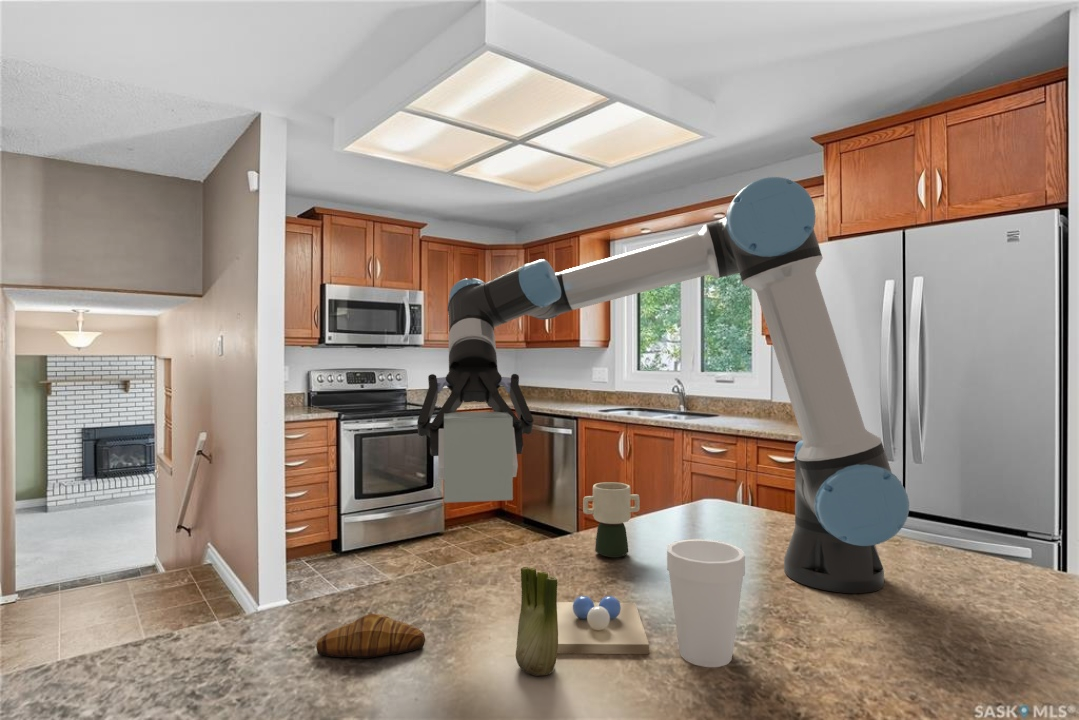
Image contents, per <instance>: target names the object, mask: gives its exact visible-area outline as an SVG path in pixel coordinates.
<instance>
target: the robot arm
mask: <svg viewBox="0 0 1079 720" xmlns="http://www.w3.org/2000/svg"><path fill="white" fill-rule="evenodd" d="M736 194H737V195H735V196H734V197H733V199H732V201H731V202H730V204H729V206H728V208H727V211H726V215H725V217H723V218H721V219H718V220H716V221H713V222H712V221H711V222H709V223H706V224H704V225H703V226H702V228H701V229H700V231H698V232H695V233H693V234H688V235H685V236H681V237H679V238H675V239H671V240H668V241H664V242H661V243H660V242H659V243H657V244H653V245H651V246H650V245H649V246H646V247H643V248H638V249H636V250H632V251H629V252H625V253H622V254H617V255H614V256H612V257H611V256H610V257H607V258H604V259H600V260H595V261H593V262H589V263H586V264H581V265H579V266H575V267H572V268H569V269H565V270H562V271H559V272H555V270H554V268H553V267H552V266H551V264H550V263H549V261H548V260H546V259H544V258H543V259H542V258H541V259H538V260H535V261H532V262H529V263H528V262H527V263H525V264H523V265H521V266H520V267H518V268H516V269H513V270H511V271H509V272H507V273H505V274H502V275H500V276H498V277H496V278H494V279H492V280H489V281H487V282H484V281H483V280H481V279H479V278H463V279H461V280H459V281H456V283H454V285H453V286H452V287H451V289H450V291H449V296H448V303H447V312H448V313H447V316H448V329H449V330H448V373H447V374H446V376H443V377H437V375H436V374H434V373H431V374H429V375H428V376H427V377H428V378H427V379H428V381H427V382H428V389H427V392H426V394H425V398H424V401H423V403H422V407H421V410H420V414H419V415H418V418H417V423H416V424H417V434H418V436H420V437H424V436H427V437H429V455H430V456H432V457H438V463H437V464H438V468H437V470H438V471H437V472H438V480H444V413H451V412H457V410H458V409H459V408H460V407H461V406H462V405H463V403H472V402H473V403H474V402H477V403H486V405H487V406H488V407H489V408H491V409H492V411H499V412H504V413H505V412H507V413H508V414H509V415H511V416H512V417H513V478H517V473H518V468H519V465H518V464H519V463H518V456H517V455H522V453H523V449H524V439H523V435H524V434H527V435H529V434H532V432H533V427H534V418H533V415H532V412H531V410H530V409H529V407H528V404H527V402H526V399H525V397H524V395H523V393H522V390H521V388H520V385H519V383H520V376H519V374H517V373H512V374H511V376H509V377H508V376H502V374H501V373H500V372H499V370H498V361H497V359H498V357H497V356H498V355H497V347H496V344H497V343H496V336H495V328H496V327H499V326H501V325H503V324H504V325H505V324H506V323H509V322H510V321H513V320H516V319H518V318H521V317H523V316H530V317H534V318H535V319H538V320H542V321H543V320H551V319H554V318H556V317H558V316H560V315H562V314H565V313H568V312H572V311H575V310H579V309H582V308H586V307H589V306H594V305H597V304H601V303H602V304H603V303H605V302H609V301H614V300H617V299H621V298H624V297H628V296H633V295H635V294H636V295H637V294H639V293H644V292H647V291H651V290H656V289H658V288H663V287H667V286H670V285H674V284H678V283H682V282H685V281H690V280H693V279H697V278H701V277H705V276H712V277H714V278H715V279H721V278H723V277H728V276H733V275H737V274H738V275H739V277H740V279H741V280H740V281H741V282H742V285H743V286H745V287H747V288H750V289H752V290H754V291H755V292H756V295H757V296H756V297H757V298H758V299H757V300H758V302H759V305H760V308H761V312H762V314H763V318H764V321H765V324H766V327H767V331H768V334H769V337H770V340H771V343H772V347H773V349H774V350H773V351H774V353H775V356H776V359H777V363H778V366H779V369H780V373H781V375H782V378H783V382H784V384H785V388H786V391H787V394H788V395H787V396H788V398H789V401H790V404H791V407H792V411H793V414H794V417H795V420H796V421H795V422H796V423H797V426H798V430H799V433H800V437H801V440H799V441H798V442H797V443H796V444H795V447H794V448H795V449H794V455H793V460H794V474H795V475H794V479H795V480H794V515H795V516H794V520H795V521H794V529H793V532H792V535H791V538H790V541H789V544H788V546H787V549H786V552H785V554H784V558H783V561H784V562H783V571H784V573H785V575H786V576H787V577H788V578H790V579H792V580H793V581H794V582H797V583H799V584H802V585H804V586H808V587H811V588H814V589H819V590H822V591H829V592H833V593H843V594H865V593H873V592H877V591H879V590H881V589H882V588H883V587H884V585H885V570H884V567H883V564H882V561H881V558H880V554H879V552H878V549H877V547H876V546H877V545H880V544H882V543H885V542H888V541H889V540H891V539H893V537H895V536H896V535H898V533H899V532H900V531H901V530H902V528H903V527H904V526H905V524H906V522H907V519H908V516H909V512H910V501H909V496H908V493H907V491H906V489H905V487H904V486H903V483H902V481H901V480H900V479H899V477H898V476H897V475H895V474H894V473H893V472H892V469H891V466H890V464H889V461H888V460H889V459H888V457H887V455H886V454H887V453H886V451H885V448H884V445H883V441H882V439H881V437H879V436H878V435H876V434H874V433H873V432H869V430H868V429H867V428H866V427H865V423H864V421H863V418H862V415H861V412H860V409H859V405H858V402H857V399H856V396H855V393H854V390H853V386H852V383H851V381H850V377H849V374H848V373H849V372H848V371H847V368H846V365H845V361H844V359H843V358H844V357H843V356H842V352H841V349H840V345H839V343H838V340H837V336H836V334H835V330H834V326H833V324H832V322H831V321H832V320H831V318H830V314H829V311H828V309H827V304H826V301H825V299H824V296H823V293H822V290H821V287H820V283H819V280H818V277H817V273H816V272H817V268H818V267H819V265H820V264H821V262H822V260H823V255H822V252H821V247H820V245H819V241H818V239H817V235H816V232H815V230H814V228H815V226H816V217H817V215H816V208H815V204H814V200H813V198H812V197H811V195H810V193H809V191H807V189H805V188H804V187H803V186H802V185H801V184H799V183H797V182H796V181H793V180H792V179H789V178H786V177H780V176H770V177H769V176H768V177H763V178H759V179H757V180H754V181H752V182H750V183H748V184H747V185H746V186H744V187H743V188H742V189H741V190H740V191H739V192H738V193H736ZM501 386H502V387H504V390H505V392H506V393H508V394H509V398H510V401H511V403H512V406H513V408H514V410H515V412H516V413H514V411H513V410H512V409H511V408H510V406H509V404H507V402H506V401H505V400H504V398H503V397H502V396H501V394H500V393H499V388H500V387H501ZM444 387H447V389H449V390H450V391H451V392H450V394H449V395H448V398H447V399H446V401H444V403H443V405H442V406H441V408H440V409H439V411H438V413H437V414H436V416H435V418H433V420H432V417H433V414H434V411H435V407H436V405H437V401H438V396H439V394H441V392H442V391H443V389H444ZM431 420H432V421H431Z"/></svg>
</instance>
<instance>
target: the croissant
mask: <svg viewBox="0 0 1079 720" xmlns="http://www.w3.org/2000/svg"><path fill="white" fill-rule="evenodd" d="M425 644H426V637H425V633H424V631H422V630H421V629H419V628H417V627H416V626H414V625H410V624H408V623H405V622H403V621H400V620H393V619H392V618H391V617H390V616H388V615H383V614H378V613H377V614H376V613H372V612H370V613H369V614H366V615H363V616H361V617H360V618H358V619H356V620H354V621H353V622H350V623H346V624H344V625H342V626H339V627H338V628H335V629H332V630H329V632H327V633H326V634H324V635H322V636H321V637H319V638H318V639H317V641H316V648H315V649H316V652H317V653H316V654H319V655H322V656H326V657H334V658H336V657H337V658H360V659H362V658H363V659H370V658H376V657H377V658H378V657H383V656H390V655H398V654H404V653H408V652H412V651H415V650H419V649H422V648H424V645H425Z"/></svg>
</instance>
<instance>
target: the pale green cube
mask: <svg viewBox="0 0 1079 720" xmlns="http://www.w3.org/2000/svg"><path fill="white" fill-rule="evenodd" d="M513 481H514V477H513V417H512V416H511V415H509V414H508V413H507V412H505V413H504V412H499V411H494V410H492V411H455V412H451V413H444V479H443V503H444V504H447V503H448V504H449V503H470V502H471V503H472V502H473V503H474V502H496V501H498V502H499V501H513V499H514V496H513V495H514V494H513V493H514V491H513V490H514V488H513V487H514V486H513V483H514V482H513Z"/></svg>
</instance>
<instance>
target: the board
mask: <svg viewBox="0 0 1079 720" xmlns="http://www.w3.org/2000/svg"><path fill="white" fill-rule="evenodd" d="M573 603H574V601H572V602H571V601H570V602H568V601H561V602H560V601H557V620H558V649H557V654H577V655H579V654H585V655H587V654H588V655H591V654H593V655H594V654H596V655H597V654H600V655H601V654H602V655H604V654H606V655H610V654H612V655H614V654H615V655H617V654H618V655H649V654H650V642H649V640H648V637H647V634H646V631H645V628H644V625H643V622H642V619H641V617H640V613H639V611H638V607H637V604H636V602H635V601H634V602H631V601H630V602H626V601H625V602H620V601H619V603H620V606H621V610H620V614H619V615H618V616H617V617H616V618H615V619H610V622H609V625H608V626H607V627H606V628H605V629H604V630H600V631H598V630H594V629H593V628H591V627H590V625H589V624H588V621H587V619H580V618H578V617H577V616H576V615H575V614H574V612H573ZM593 603H594V607H595V606H599V603H600V601H599V602H598V601H595V602H594V601H593Z"/></svg>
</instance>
